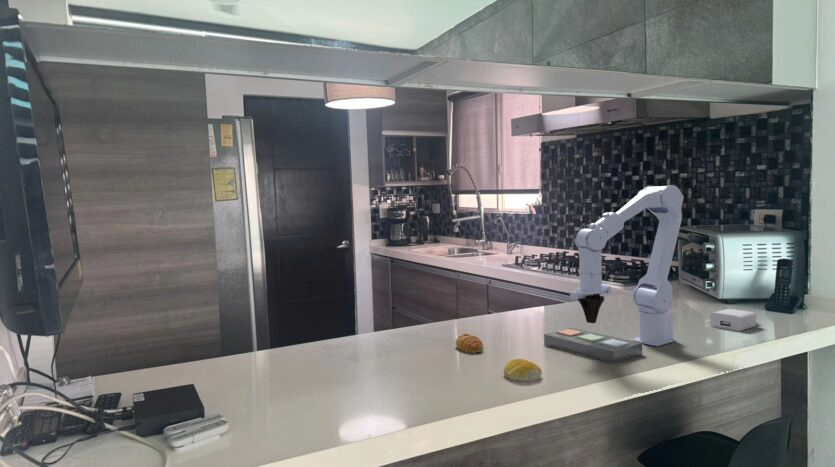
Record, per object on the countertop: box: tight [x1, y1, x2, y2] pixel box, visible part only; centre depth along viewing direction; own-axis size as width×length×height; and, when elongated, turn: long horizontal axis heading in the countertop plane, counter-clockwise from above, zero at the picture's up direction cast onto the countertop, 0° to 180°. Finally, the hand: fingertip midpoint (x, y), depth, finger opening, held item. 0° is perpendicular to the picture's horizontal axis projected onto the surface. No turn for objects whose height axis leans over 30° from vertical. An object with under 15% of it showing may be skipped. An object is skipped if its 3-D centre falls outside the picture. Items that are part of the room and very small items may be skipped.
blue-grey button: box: [600, 339, 629, 348], centre depth 145 cm, size 5×5×3 cm
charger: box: [709, 308, 757, 332], centre depth 172 cm, size 5×9×15 cm
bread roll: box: [503, 358, 543, 383], centre depth 131 cm, size 8×9×4 cm
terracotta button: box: [557, 328, 582, 337], centre depth 157 cm, size 5×5×3 cm
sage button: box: [578, 334, 605, 342], centre depth 151 cm, size 5×5×3 cm
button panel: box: [543, 327, 643, 364], centre depth 151 cm, size 12×23×3 cm, turn 34°
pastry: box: [455, 333, 484, 354], centre depth 155 cm, size 9×7×4 cm
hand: (591, 322), depth 151 cm, fingers closed
